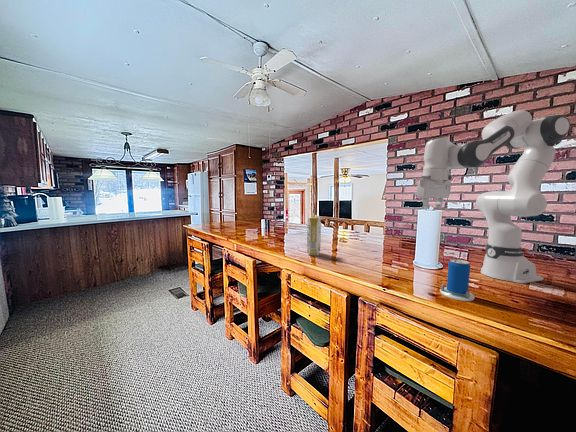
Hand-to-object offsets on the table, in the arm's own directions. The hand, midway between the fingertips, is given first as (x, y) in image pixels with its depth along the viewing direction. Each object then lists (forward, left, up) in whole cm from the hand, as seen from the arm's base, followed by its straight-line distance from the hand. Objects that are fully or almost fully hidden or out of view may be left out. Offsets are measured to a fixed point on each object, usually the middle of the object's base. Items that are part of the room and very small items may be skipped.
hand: (432, 208), depth 102 cm
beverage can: (+1, +17, -30) cm, 35 cm away
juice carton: (+42, -45, -31) cm, 69 cm away
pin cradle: (+1, +17, -31) cm, 35 cm away
